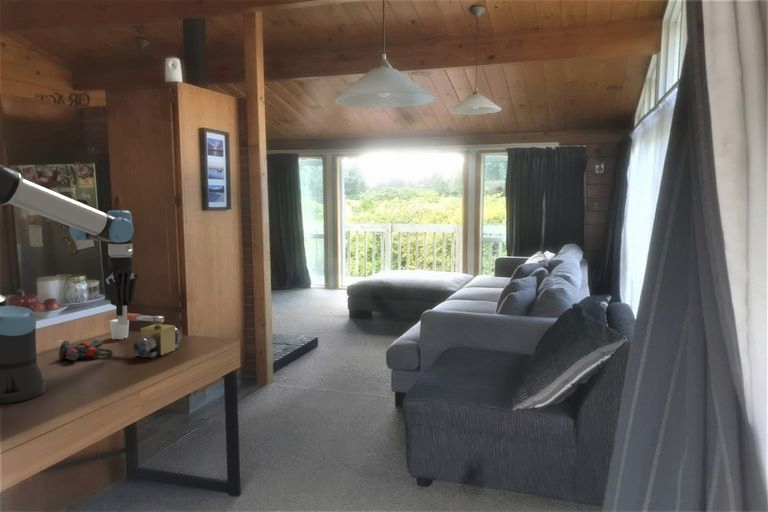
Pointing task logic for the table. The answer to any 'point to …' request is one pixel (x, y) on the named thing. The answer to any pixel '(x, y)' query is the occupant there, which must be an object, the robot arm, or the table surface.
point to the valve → (82, 350)
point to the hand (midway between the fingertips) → (122, 324)
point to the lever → (144, 318)
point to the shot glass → (119, 329)
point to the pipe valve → (157, 340)
